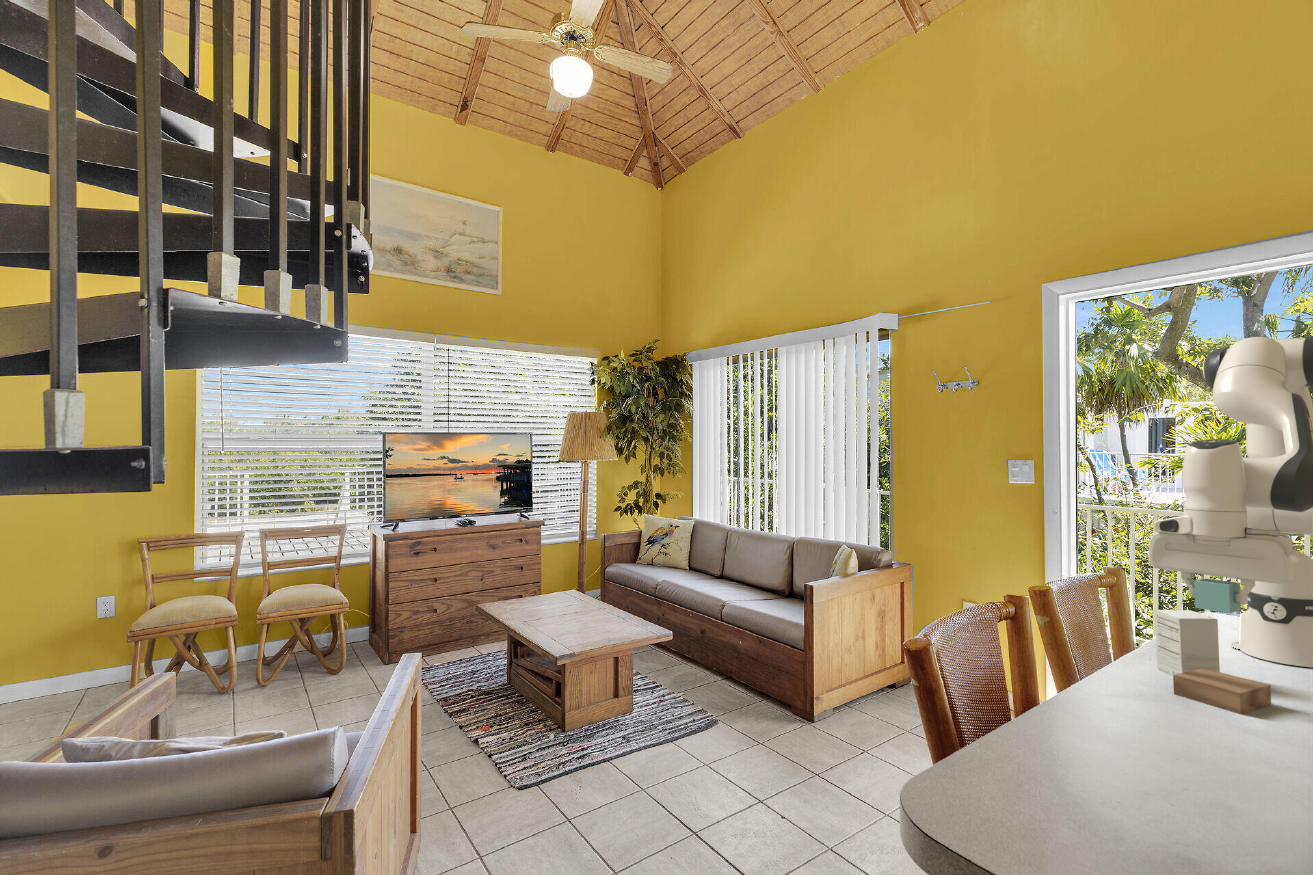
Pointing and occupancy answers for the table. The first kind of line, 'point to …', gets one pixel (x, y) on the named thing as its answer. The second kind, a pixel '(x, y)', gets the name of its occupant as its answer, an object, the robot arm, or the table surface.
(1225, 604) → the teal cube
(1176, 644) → the supplement box
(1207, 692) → the walnut block
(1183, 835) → the table surface
